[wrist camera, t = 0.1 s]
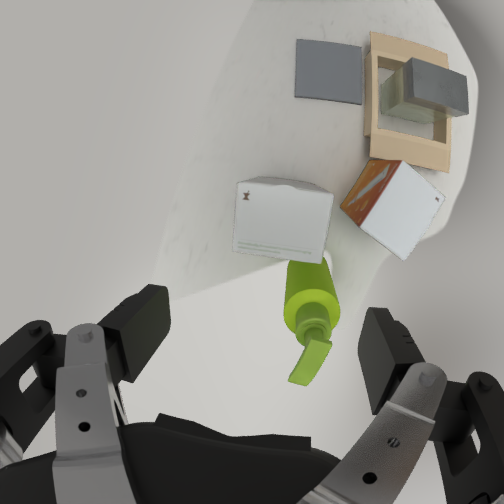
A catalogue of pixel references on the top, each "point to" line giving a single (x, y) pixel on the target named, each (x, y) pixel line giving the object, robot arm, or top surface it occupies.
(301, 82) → the mat
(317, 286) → the soap dispenser
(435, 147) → the wooden rectangular frame
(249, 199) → the skincare box
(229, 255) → the top surface
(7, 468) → the robot arm
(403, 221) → the small box
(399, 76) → the tea tin
